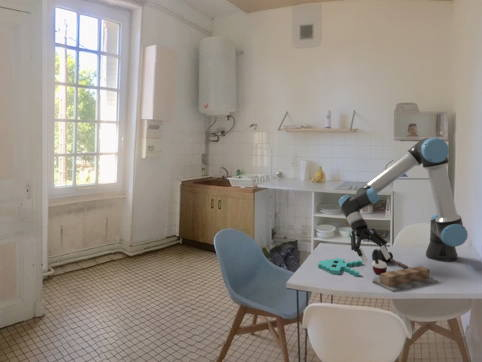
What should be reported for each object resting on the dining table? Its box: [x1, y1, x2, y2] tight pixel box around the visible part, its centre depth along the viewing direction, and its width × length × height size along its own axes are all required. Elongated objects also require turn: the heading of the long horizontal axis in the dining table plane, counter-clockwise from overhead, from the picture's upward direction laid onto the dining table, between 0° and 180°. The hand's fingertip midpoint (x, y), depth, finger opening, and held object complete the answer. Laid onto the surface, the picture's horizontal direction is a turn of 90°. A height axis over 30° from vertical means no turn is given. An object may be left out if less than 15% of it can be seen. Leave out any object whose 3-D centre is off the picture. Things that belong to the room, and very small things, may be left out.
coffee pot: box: [371, 248, 409, 269], centre depth 202 cm, size 8×18×8 cm
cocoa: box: [371, 249, 388, 276], centre depth 189 cm, size 10×6×12 cm, turn 110°
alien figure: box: [317, 257, 363, 277], centre depth 199 cm, size 20×2×20 cm
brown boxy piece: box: [372, 266, 439, 293], centre depth 177 cm, size 26×12×5 cm, turn 113°
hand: (377, 260), depth 189 cm, fingers open, 13 cm apart
